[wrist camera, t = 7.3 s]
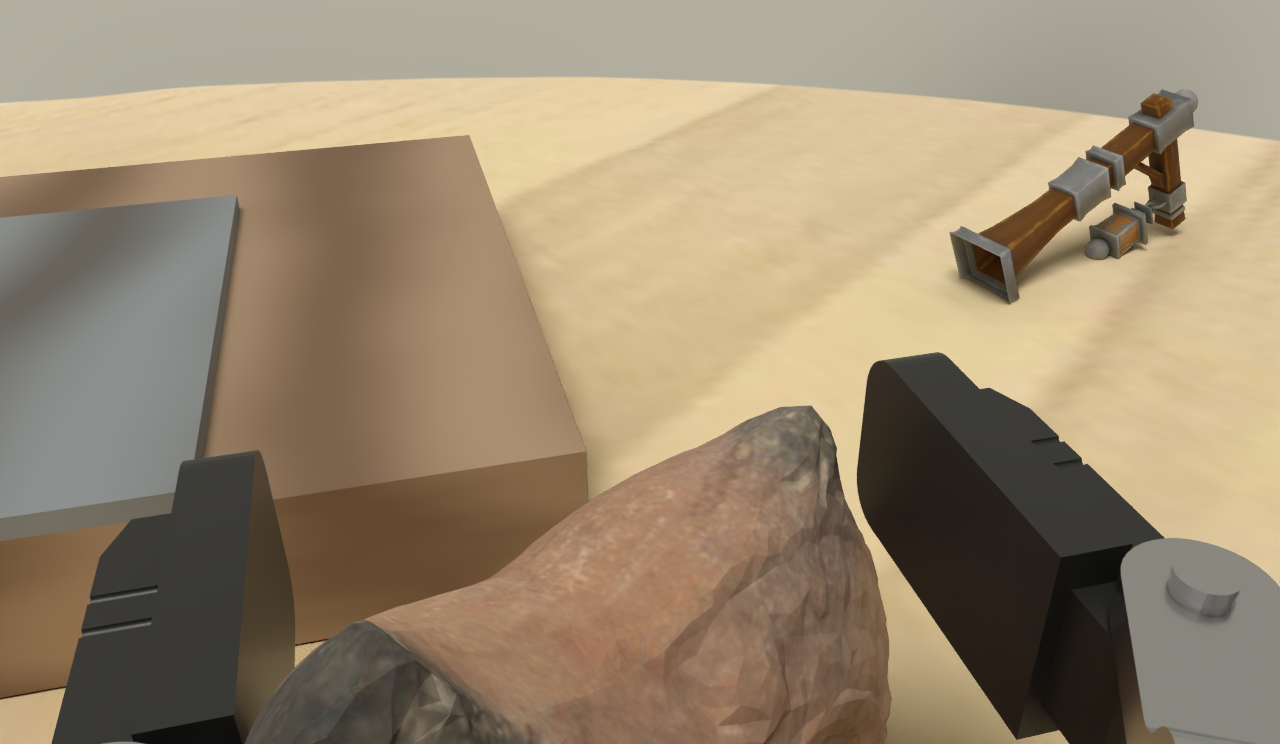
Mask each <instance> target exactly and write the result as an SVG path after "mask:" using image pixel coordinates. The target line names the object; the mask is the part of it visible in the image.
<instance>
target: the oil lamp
mask: <svg viewBox="0 0 1280 744" xmlns="http://www.w3.org/2000/svg"><path fill="white" fill-rule="evenodd" d="M836 451H837V447H836V445H835V442H834V439H833V436H832V433H831V430H830V428H829V427H828V426H827V425H826V423H825V422H824V421H823V420H822V418H821V417H820V416H819V415H818V414H817V412H816V411H815V410H814V409H813V407H812V406H795V407H780V408H777V409H774V410H772V411H769V412H767V413H764V414H762V415H760V416H757V417H754V418H751V419H749V420H747V421H745V422H743V423H741V424H739V425H738V426H736V427H734V428H733V429H731V430H729V431H728V432H726V433H725V434H723V435H721V436H719V437H717V438H715V439H713V440H711V441H709V442H707V443H705V444H703V445H701V446H699V447H697V448H694V449H691V450H688V451H685V452H683V453H680V454H678V455H676V456H673V457H671V458H669V459H667V460H665V461H662V462H660V463H658V464H656V465H654V466H652V467H650V468H648V469H646V470H643V471H641V472H639V473H637V474H635V475H633V476H631V477H630V478H628V479H626V480H624V481H623V482H621V483H619V484H617V485H616V486H614V487H612V488H611V489H609V490H607V491H605V492H604V493H602V494H600V495H599V496H597V497H595V498H594V499H592V500H591V501H589V502H588V503H586V504H585V505H583V506H582V507H580V508H579V509H577V510H576V511H574V512H573V513H572V514H570V515H569V516H568V517H566V518H565V519H563V520H562V521H561V522H559V523H558V524H557V525H555V526H554V527H553V528H551V529H550V530H549V531H547V532H546V533H545V534H544V535H542V536H541V537H540V538H538V539H537V540H536V541H535V542H533V543H532V544H531V545H530V546H529V547H528V548H527V549H526V550H525V551H524V552H523V553H522V554H521V555H519V556H518V557H517V558H516V559H514V560H513V561H512V562H510V563H509V564H508V565H506V566H505V567H504V568H503V569H501V570H500V571H499V572H497V573H496V574H495V575H493V576H492V577H491V578H488V579H486V580H484V581H481V582H479V583H476V584H474V585H471V586H468V587H465V588H461V589H458V590H454V591H451V592H447V593H443V594H440V595H437V596H433V597H430V598H427V599H423V600H420V601H417V602H414V603H410V604H407V605H402V606H398V607H395V608H392V609H390V610H387V611H384V612H382V613H379V614H376V615H374V616H371V617H369V618H366V619H364V620H362V621H357V622H354V623H351V624H349V625H347V626H346V627H345V628H343V629H342V630H341V631H339V632H338V633H337V634H335V635H334V636H332V637H331V638H329V639H328V640H327V641H325V642H324V643H323V644H321V645H320V646H318V647H317V648H316V649H314V650H313V651H312V652H311V653H310V654H309V655H308V656H307V657H305V658H304V659H303V660H302V661H301V662H300V663H299V664H298V665H297V666H296V667H295V668H294V669H293V670H292V671H291V672H290V673H289V674H288V675H287V677H286V678H285V679H284V680H283V681H282V683H281V684H280V685H279V686H278V688H277V689H276V690H275V692H274V693H273V694H272V696H271V697H270V698H269V700H268V701H267V702H266V703H265V705H264V706H263V708H262V710H261V711H260V713H259V715H258V717H257V719H256V720H255V722H254V724H253V726H252V728H251V730H250V733H249V735H248V737H247V739H246V742H245V744H884V741H885V738H886V734H887V728H886V721H887V719H888V717H889V712H890V704H891V699H892V698H891V694H890V690H889V685H888V679H887V673H888V658H889V637H888V632H887V627H886V616H885V611H884V607H883V603H882V599H881V595H880V591H879V587H878V577H877V574H876V570H875V566H874V562H873V559H872V555H871V552H870V550H869V548H868V547H867V545H866V544H865V541H864V538H863V535H862V533H861V532H860V530H859V529H858V527H857V525H856V522H855V520H854V517H853V515H852V513H851V511H850V509H849V507H848V505H847V503H846V500H845V497H844V493H843V489H842V485H841V481H840V475H839V469H838V463H837V457H836Z"/></svg>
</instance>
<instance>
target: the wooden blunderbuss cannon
mask: <svg viewBox="0 0 1280 744" xmlns="http://www.w3.org/2000/svg"><path fill="white" fill-rule="evenodd" d="M1197 105H1198V98H1197V96H1196V95H1195V93H1194V92H1192V91H1190V90H1180V91H1178V92H1177V93H1175V94H1174V93H1171V92H1168V91H1165V90H1161V91H1160V93H1159V94H1158V95H1157V94H1152V95H1151V96H1150V97H1148V98H1147V99H1146V100H1144V101H1143V102H1142V103H1141V108H1142V109H1141V110H1139V111H1138V112H1137V113H1135V114H1133V115H1131V116H1129V117H1128V118H1129V126H1128V127H1127V128H1125V129H1124V130H1123V131H1122V132H1120V133H1119V134H1118V135H1117V136H1115V137H1114V138H1113V139H1112V140H1110V141H1109V142H1108V143H1107V144H1105V145H1104V146H1103V147H1102V148H1099V147H1096V146H1093V147H1092V148H1091V149H1090V150H1088V151H1086V158H1087V159H1086V160H1085V159H1082V158H1079V157H1078V158H1077V160H1076V161H1075V162H1074V164H1073V165H1072V166H1071V167H1070V168H1069V169H1067V170H1066V171H1065V172H1064V173H1063V174H1061V175H1060V176H1059V177H1058V178H1056V179H1054V180H1052V181H1050V182H1048V184H1049V191H1047V192H1046V193H1045V194H1043V195H1042V196H1041V197H1039V198H1038V199H1037V200H1035V201H1034V202H1033V203H1031V204H1029V205H1028V206H1026V207H1024V208H1023V209H1021V210H1019V211H1018V212H1016V213H1014V214H1013V215H1011V216H1010V217H1008V218H1006V219H1005V220H1003V221H1001V222H1000V223H998V224H996V225H995V226H993V227H991V228H989V229H987V230H985V231H982V232H980V233H978V234H977V233H975V232H973V231H971V230H969V229H967V228H964V227H962V226H961V227H960V229H959V230H957V231H955V232H950V237H951V241H952V245H953V249H954V254H955V258H956V262H957V266H958V271H959V275H960V278H968V279H970V280H972V281H974V282H976V283H978V284H979V285H981V286H983V287H985V288H987V289H989V290H991V291H992V292H994V293H996V294H998V295H1000V296H1002V297H1004V298H1005V299H1007V300H1009V302H1010V304H1011V303H1013V302H1014V301H1015V300H1016V299H1018V298H1019V293H1018V288H1017V283H1016V279H1017V277H1018V276H1019V275H1020V273H1021V272H1022V271H1023V269H1024V268H1025V267H1026V266H1027V264H1028V263H1029V262H1030V261H1031V260H1032V259H1033V258H1034V257H1035V256H1036V255H1037V254H1038V253H1039V252H1040V251H1041V250H1042V249H1043V247H1044V246H1045V245H1046V244H1047V243H1048V242H1049V241H1050V240H1051V239H1052V238H1053V237H1054V236H1055V235H1056V234H1057V233H1058V232H1059V231H1060V230H1061V229H1062V228H1063V227H1065V226H1066V225H1067V224H1068V223H1069V222H1071V221H1072V220H1073V219H1075V220H1077V221H1080V222H1081V220H1082V219H1083V218H1084V217H1085V215H1086V214H1087V213H1088V212H1089V211H1091V210H1092V209H1093V208H1094V207H1096V206H1097V205H1098V204H1099V203H1101V202H1102V201H1104V200H1106V199H1108V198H1110V197H1111V190H1110V189H1111V188H1112V189H1114V190H1117V191H1119V190H1120V188H1121V187H1122V186H1124V185H1126V181H1125V176H1126V175H1127V174H1128V173H1129V172H1130V171H1131V170H1133V169H1134V168H1135V169H1136V170H1138V171H1140V172H1142V173H1144V174H1146V175H1148V176H1149V178H1150V180H1151V183H1152V184H1151V185H1150V186H1149V187H1148V192H1149V201H1148V202H1147V203H1146V205H1145V206H1144V205H1142V204H1139V203H1137V202H1134V206H1135V209H1133V208H1132V209H1129V208H1126V207H1124V206H1121V205H1119V204H1116V203H1114V204H1113V215H1111V216H1110V217H1108V218H1107V219H1105V220H1104V221H1102V222H1101V223H1099V224H1098V225H1095V226H1092V225H1091V226H1089V230H1090V238H1091V241H1090V242H1089V243H1088V244H1087V245H1086V249H1085V252H1086V255H1087V257H1089V258H1091V259H1095V260H1102V259H1104V258H1106V257H1107V256H1108V255H1110V256H1112V257H1114V258H1117V259H1120V257H1122V255H1123V254H1124V253H1125V252H1126V251H1127V250H1128V249H1129V248H1130V247H1131V246H1132V245H1134V244H1135V243H1136V242H1140V243H1142V244H1144V245H1146V244H1147V243H1148V240H1147V228H1146V222H1148V223H1150V224H1153V218H1152V213H1154V214H1155V222H1156V223H1158V224H1161V225H1163V226H1166V227H1169V228H1171V229H1174V228H1175V227H1176V226H1177V225H1179V224H1180V223H1181V222H1182V221H1184V220H1185V214H1184V210H1185V206H1183V203H1185V202H1186V201H1187V198H1186V187H1185V182H1182V181H1181V176H1180V166H1179V155H1178V144H1177V138H1178V137H1179V136H1180V135H1181V134H1183V133H1184V132H1185V131H1187V130H1189V129H1191V128H1193V127H1194V122H1193V112H1194V111H1195V110H1196V108H1197ZM1147 156H1149V165H1150V167H1149V166H1147V165H1145V164H1143V163H1141V162H1142V161H1143V160H1144V159H1145V158H1146V157H1147Z"/></svg>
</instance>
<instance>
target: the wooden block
mask: <svg viewBox="0 0 1280 744" xmlns="http://www.w3.org/2000/svg"><path fill="white" fill-rule="evenodd" d="M255 450H259V451H260V453H261V455H262V458H263V460H264V464H265V467H266V471H267V476H268V480H269V484H270V489H271V493H272V497H273V501H274V506H275V510H276V514H277V519H278V523H279V527H280V532H281V536H282V540H283V545H284V549H285V553H286V557H287V562H288V566H289V571H290V577H291V583H292V590H293V599H294V610H295V644H301V643H306V642H312V641H317V640H323V639H329V638H331V637H332V636H334V635H335V634H337V633H338V632H339V631H341V630H342V629H343V628H345V627H346V626H347V625H349V624H351V623H354V622H357V621H362V620H364V619H366V618H369V617H371V616H374V615H376V614H379V613H382V612H384V611H387V610H390V609H392V608H395V607H398V606H402V605H407V604H410V603H414V602H417V601H420V600H423V599H427V598H430V597H433V596H437V595H440V594H443V593H447V592H451V591H454V590H458V589H461V588H465V587H468V586H471V585H474V584H476V583H479V582H481V581H484V580H486V579H488V578H491V577H492V576H493V575H495V574H496V573H497V572H499V571H500V570H501V569H503V568H504V567H505V566H506V565H508V564H509V563H510V562H512V561H513V560H514V559H516V558H517V557H518V556H519V555H521V554H522V553H523V552H524V551H525V550H526V549H527V548H528V547H529V546H530V545H531V544H532V543H533V542H535V541H536V540H537V539H538V538H540V537H541V536H542V535H544V534H545V533H546V532H547V531H549V530H550V529H551V528H553V527H554V526H555V525H557V524H558V523H559V522H561V521H562V520H563V519H565V518H566V517H568V516H569V515H570V514H572V513H573V512H574V511H576V510H577V509H579V508H580V507H582V506H583V505H585V504H586V503H588V485H587V460H586V450H585V447H584V444H583V442H582V439H581V436H580V433H579V431H578V428H577V425H576V423H575V420H574V417H573V415H572V412H571V409H570V406H569V404H568V401H567V398H566V396H565V393H564V390H563V387H562V385H561V382H560V379H559V377H558V374H557V371H556V369H555V366H554V363H553V360H552V358H551V355H550V352H549V350H548V347H547V344H546V342H545V339H544V336H543V333H542V331H541V328H540V325H539V323H538V320H537V317H536V314H535V312H534V309H533V306H532V304H531V301H530V298H529V296H528V293H527V290H526V287H525V285H524V282H523V279H522V277H521V274H520V271H519V269H518V266H517V263H516V260H515V258H514V255H513V252H512V250H511V247H510V244H509V241H508V239H507V236H506V233H505V231H504V228H503V225H502V223H501V220H500V217H499V214H498V212H497V209H496V206H495V204H494V201H493V198H492V196H491V193H490V190H489V187H488V185H487V182H486V179H485V177H484V174H483V171H482V168H481V166H480V163H479V160H478V158H477V155H476V152H475V150H474V147H473V144H472V141H471V139H470V136H469V135H466V136H455V137H444V138H432V139H421V140H410V141H399V142H388V143H377V144H366V145H354V146H343V147H332V148H321V149H310V150H299V151H287V152H276V153H265V154H254V155H243V156H232V157H220V158H209V159H198V160H187V161H176V162H165V163H153V164H142V165H131V166H120V167H109V168H98V169H86V170H75V171H64V172H53V173H42V174H31V175H19V176H8V177H0V698H2V697H8V696H13V695H19V694H24V693H30V692H35V691H41V690H46V689H52V688H57V687H63V686H67V682H68V678H69V674H70V670H71V666H72V663H73V659H74V655H75V651H76V647H77V643H78V639H79V638H82V631H81V628H82V624H83V620H84V616H85V612H86V608H87V605H88V604H90V593H91V589H92V585H93V581H94V577H95V573H96V569H97V566H98V562H99V558H100V556H101V555H102V554H103V552H104V551H105V550H106V549H107V548H108V547H109V545H110V544H111V543H112V542H113V541H114V539H115V538H116V537H117V536H118V535H119V533H120V532H121V531H122V530H123V529H124V527H125V526H126V525H127V524H128V523H129V521H130V520H131V519H136V518H143V517H149V516H156V515H162V514H169V513H171V511H172V506H173V500H174V495H175V489H176V484H177V478H178V473H179V468H180V465H181V463H182V462H183V461H187V460H194V459H201V458H207V457H214V456H221V455H228V454H235V453H242V452H248V451H255Z"/></svg>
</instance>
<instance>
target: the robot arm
mask: <svg viewBox="0 0 1280 744" xmlns="http://www.w3.org/2000/svg"><path fill="white" fill-rule="evenodd" d="M857 487H858V494H859V499H860V504H861V507H862V510H863V513H864V515H865V518H866V520H867V522H868V524H869V525H870V527H871V529H872V530H873V532H874V533H875V534H876V536H877V537H878V539H879V540H880V542H881V543H882V545H883V546H884V548H885V549H886V550H887V552H888V553H889V555H890V556H891V558H892V559H893V561H894V562H895V564H896V565H897V567H898V568H899V569H900V571H901V572H902V574H903V575H904V577H905V578H906V580H907V581H908V583H909V584H910V585H911V587H912V588H913V590H914V591H915V593H916V594H917V596H918V597H919V599H920V600H921V601H922V603H923V604H924V606H925V607H926V609H927V610H928V612H929V613H930V615H931V616H932V617H933V619H934V620H935V622H936V623H937V625H938V626H939V628H940V629H941V631H942V632H943V633H944V635H945V636H946V638H947V639H948V641H949V642H950V644H951V645H952V647H953V648H954V649H955V651H956V652H957V654H958V655H959V657H960V658H961V660H962V661H963V663H964V664H965V665H966V667H967V668H968V670H969V671H970V673H971V674H972V676H973V677H974V679H975V680H976V681H977V683H978V684H979V686H980V687H981V689H982V690H983V692H984V693H985V695H986V696H987V697H988V699H989V700H990V702H991V703H992V705H993V706H994V708H995V709H996V711H997V712H998V714H999V715H1000V716H1001V718H1002V719H1003V721H1004V722H1005V724H1006V725H1007V727H1008V728H1009V730H1010V731H1011V732H1012V734H1013V735H1014V737H1015V738H1016V740H1018V739H1022V738H1026V737H1031V736H1035V735H1039V734H1044V733H1048V732H1053V731H1057V730H1060V732H1061V733H1062V734H1063V736H1064V737H1065V738H1066V740H1067V741H1068V742H1069V744H1280V587H1279V586H1278V585H1277V583H1276V582H1275V581H1274V580H1273V579H1272V578H1271V577H1270V576H1269V575H1268V574H1267V573H1266V572H1264V571H1263V570H1262V569H1261V568H1259V567H1258V566H1257V565H1255V564H1254V563H1252V562H1250V561H1249V560H1247V559H1245V558H1244V557H1242V556H1240V555H1238V554H1236V553H1234V552H1231V551H1229V550H1226V549H1224V548H1221V547H1219V546H1215V545H1212V544H1208V543H1205V542H1200V541H1195V540H1189V539H1179V538H1164V537H1163V536H1162V535H1161V534H1160V533H1159V532H1158V531H1157V530H1156V529H1155V528H1154V527H1153V526H1151V525H1150V524H1149V523H1148V522H1147V521H1146V520H1145V519H1144V518H1143V517H1142V516H1141V515H1140V514H1139V513H1138V512H1137V511H1136V510H1135V509H1134V508H1133V507H1132V506H1131V505H1130V504H1129V503H1128V502H1127V501H1126V500H1124V499H1123V498H1122V497H1121V496H1120V495H1119V494H1118V493H1117V492H1116V491H1115V490H1114V489H1113V488H1112V487H1111V486H1110V485H1109V484H1108V483H1107V482H1106V481H1105V480H1104V479H1103V478H1102V477H1101V476H1100V475H1099V474H1097V473H1096V472H1095V471H1094V470H1093V469H1092V468H1091V467H1090V466H1089V465H1088V464H1085V465H1083V463H1082V458H1081V457H1080V456H1079V455H1078V454H1077V453H1076V452H1075V451H1074V450H1073V449H1072V448H1071V447H1069V446H1068V445H1067V444H1066V443H1065V442H1060V441H1059V436H1058V435H1057V434H1056V433H1055V432H1054V431H1053V430H1052V429H1051V428H1050V427H1049V426H1048V425H1047V424H1046V423H1045V422H1044V421H1042V420H1041V419H1040V418H1039V417H1038V416H1037V415H1036V414H1035V413H1034V412H1033V411H1032V410H1031V409H1030V408H1028V407H1026V406H1024V405H1022V404H1020V403H1018V402H1016V401H1014V400H1012V399H1010V398H1008V397H1006V396H1004V395H1003V394H1001V393H999V392H997V391H995V390H993V389H991V388H985V389H979V388H978V387H977V386H976V385H975V384H974V383H973V382H972V381H971V380H970V379H969V378H968V377H967V376H966V375H965V374H964V373H963V372H962V371H961V370H960V369H959V368H958V367H957V366H956V365H955V364H954V363H953V362H952V361H951V360H950V359H949V358H948V357H947V356H946V355H944V354H942V353H938V352H937V353H930V354H923V355H916V356H909V357H902V358H896V359H889V360H882V361H877V362H876V363H874V364H873V366H872V367H871V369H870V371H869V375H868V379H867V386H866V395H865V404H864V413H863V422H862V431H861V440H860V449H859V458H858V467H857ZM81 631H82V638H79V639H78V643H77V647H76V651H75V655H74V659H73V663H72V666H71V670H70V674H69V678H68V682H67V686H66V690H65V694H64V697H63V701H62V705H61V709H60V713H59V717H58V721H57V725H56V729H55V732H54V736H53V740H52V744H245V742H246V739H247V737H248V735H249V733H250V730H251V728H252V726H253V724H254V722H255V720H256V719H257V717H258V715H259V713H260V711H261V710H262V708H263V706H264V705H265V703H266V702H267V701H268V700H269V698H270V697H271V696H272V694H273V693H274V692H275V690H276V689H277V688H278V686H279V685H280V684H281V683H282V681H283V680H284V679H285V678H286V677H287V675H288V674H289V673H290V672H291V671H292V670H293V669H294V661H295V610H294V599H293V590H292V583H291V577H290V571H289V566H288V562H287V557H286V553H285V549H284V545H283V540H282V536H281V532H280V527H279V523H278V519H277V514H276V510H275V506H274V501H273V497H272V493H271V489H270V484H269V480H268V476H267V471H266V467H265V464H264V460H263V458H262V455H261V453H260V451H259V450H255V451H248V452H242V453H235V454H228V455H221V456H214V457H207V458H201V459H194V460H187V461H183V462H182V463H181V465H180V468H179V473H178V478H177V484H176V489H175V495H174V500H173V506H172V511H171V513H169V514H162V515H156V516H149V517H143V518H136V519H131V520H130V521H129V523H128V524H127V525H126V526H125V527H124V529H123V530H122V531H121V532H120V533H119V535H118V536H117V537H116V538H115V539H114V541H113V542H112V543H111V544H110V545H109V547H108V548H107V549H106V550H105V551H104V552H103V554H102V555H101V556H100V558H99V562H98V566H97V569H96V573H95V577H94V581H93V585H92V589H91V593H90V604H88V605H87V608H86V612H85V616H84V620H83V624H82V628H81Z"/></svg>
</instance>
